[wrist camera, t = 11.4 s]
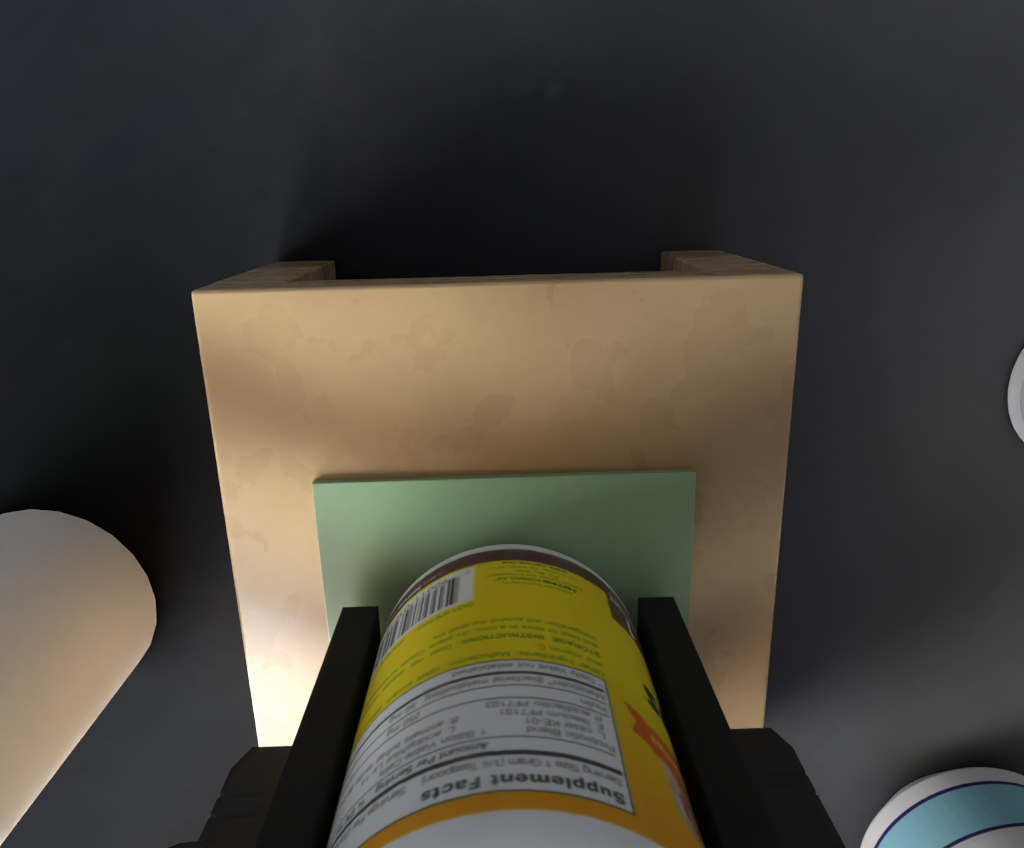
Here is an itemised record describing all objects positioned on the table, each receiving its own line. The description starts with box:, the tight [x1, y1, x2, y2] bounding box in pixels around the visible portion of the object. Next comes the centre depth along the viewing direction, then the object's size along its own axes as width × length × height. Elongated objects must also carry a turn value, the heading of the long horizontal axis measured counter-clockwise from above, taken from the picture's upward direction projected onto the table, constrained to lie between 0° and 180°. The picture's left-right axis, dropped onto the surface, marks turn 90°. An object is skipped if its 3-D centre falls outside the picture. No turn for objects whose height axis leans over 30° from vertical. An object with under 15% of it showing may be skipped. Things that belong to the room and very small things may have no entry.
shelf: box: [191, 250, 803, 747], centre depth 16 cm, size 16×12×14 cm
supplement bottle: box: [326, 544, 705, 848], centre depth 12 cm, size 6×6×10 cm
